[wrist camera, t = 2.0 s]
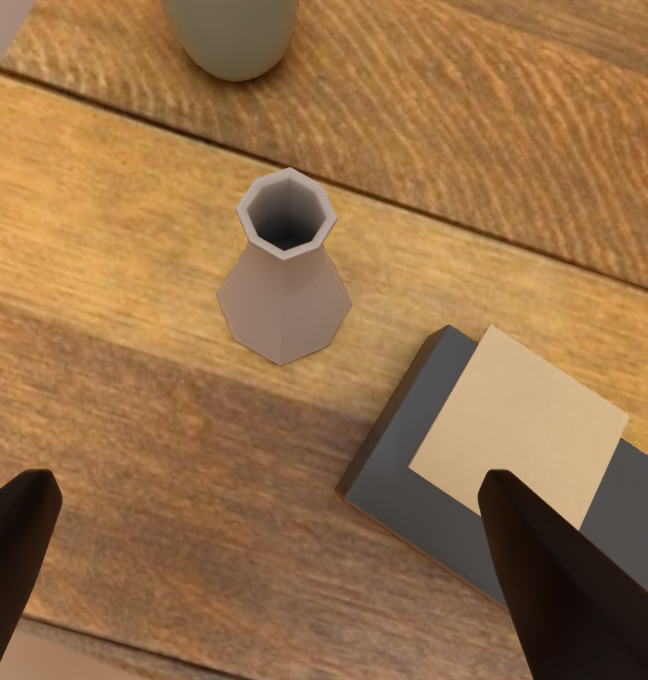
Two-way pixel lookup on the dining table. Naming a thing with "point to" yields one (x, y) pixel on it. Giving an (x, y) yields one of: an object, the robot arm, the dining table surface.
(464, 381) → the grey and beige box
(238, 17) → the cup
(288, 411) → the dining table surface
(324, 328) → the octagonal bud vase
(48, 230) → the dining table surface
